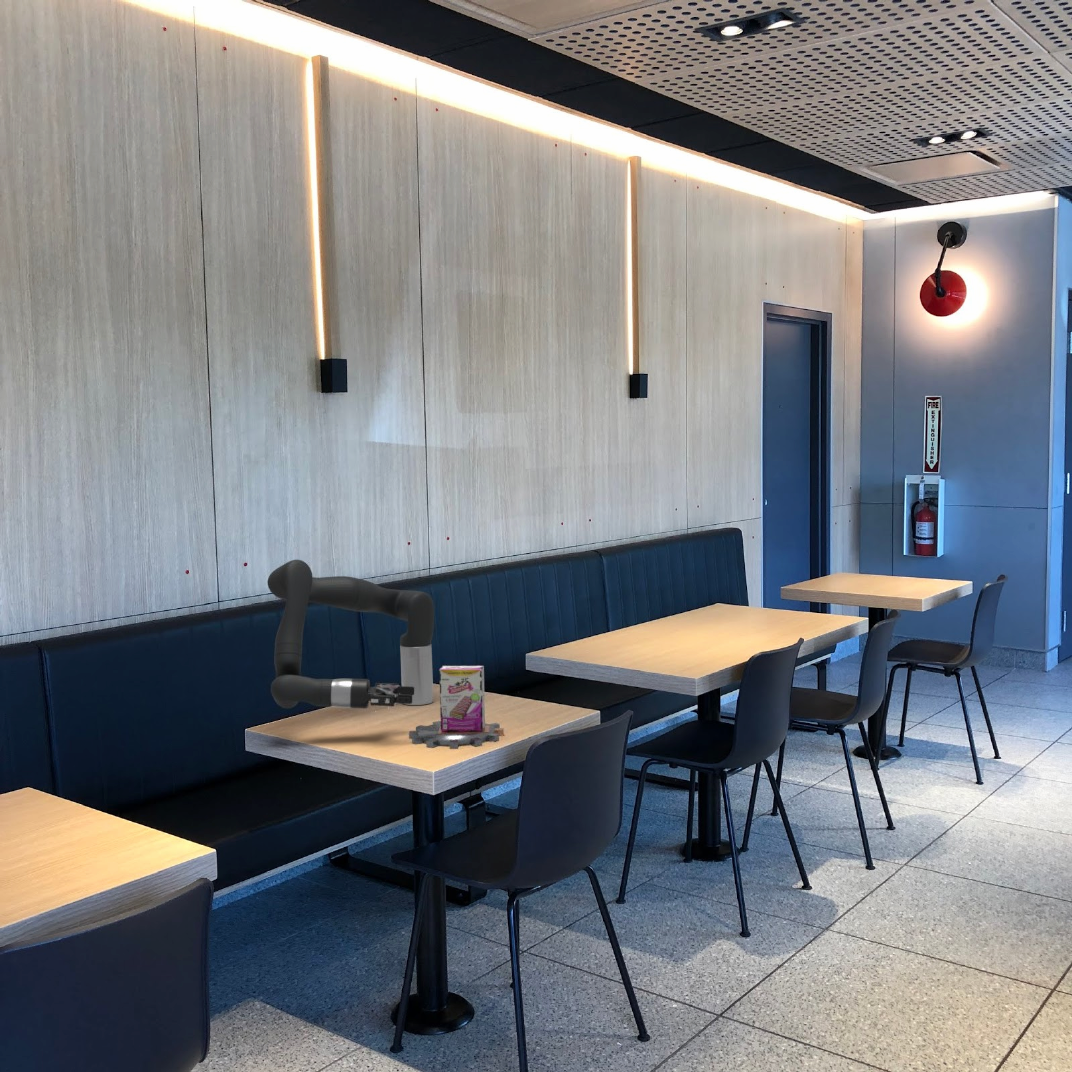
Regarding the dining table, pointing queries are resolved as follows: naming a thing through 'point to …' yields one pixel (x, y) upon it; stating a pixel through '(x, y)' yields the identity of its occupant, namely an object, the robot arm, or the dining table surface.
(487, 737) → the sprocket plate
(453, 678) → the candy bar box
